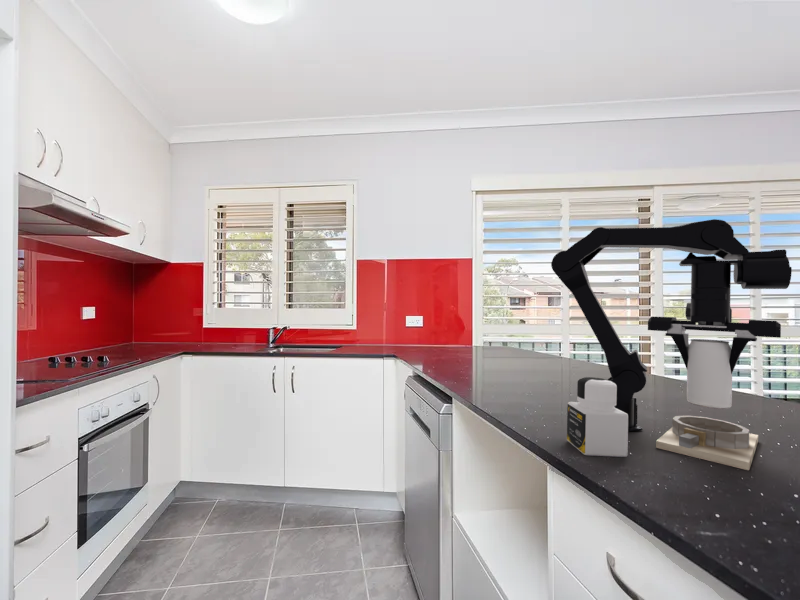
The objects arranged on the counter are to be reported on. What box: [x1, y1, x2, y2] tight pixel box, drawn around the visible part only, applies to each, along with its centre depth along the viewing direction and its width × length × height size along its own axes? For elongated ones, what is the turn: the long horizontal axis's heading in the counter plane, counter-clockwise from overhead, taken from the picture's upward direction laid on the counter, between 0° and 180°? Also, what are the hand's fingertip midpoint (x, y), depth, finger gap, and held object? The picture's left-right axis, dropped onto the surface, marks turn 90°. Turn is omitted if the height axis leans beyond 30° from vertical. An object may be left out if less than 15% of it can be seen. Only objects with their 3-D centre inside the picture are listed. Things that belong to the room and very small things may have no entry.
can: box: [686, 338, 733, 410], centre depth 70 cm, size 6×6×12 cm
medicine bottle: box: [566, 376, 629, 458], centre depth 65 cm, size 7×7×12 cm
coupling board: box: [655, 415, 759, 471], centre depth 69 cm, size 20×12×4 cm, turn 133°
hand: (708, 372), depth 70 cm, fingers closed on can, 6 cm apart
